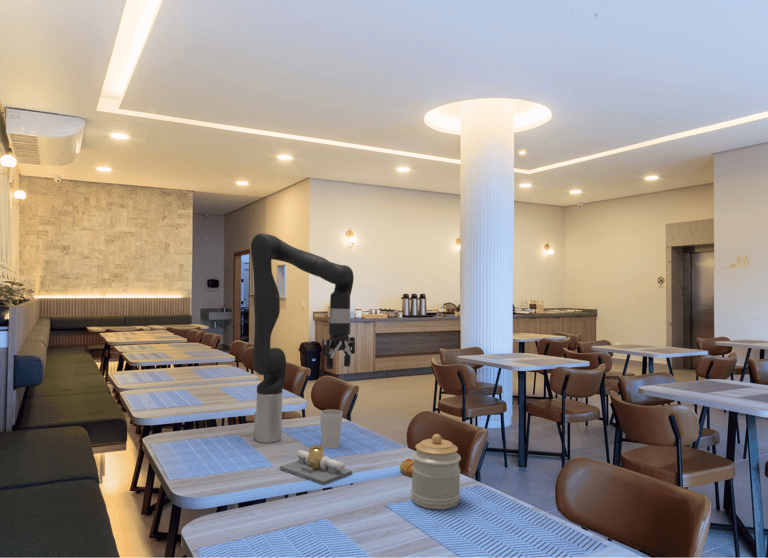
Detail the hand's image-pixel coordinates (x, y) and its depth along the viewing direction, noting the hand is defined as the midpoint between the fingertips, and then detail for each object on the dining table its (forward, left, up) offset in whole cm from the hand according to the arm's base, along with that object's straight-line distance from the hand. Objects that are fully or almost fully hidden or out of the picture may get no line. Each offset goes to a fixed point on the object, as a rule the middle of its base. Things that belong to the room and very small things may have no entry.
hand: (338, 367), depth 189 cm
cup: (-3, 0, -28) cm, 28 cm away
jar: (+52, -16, -28) cm, 61 cm away
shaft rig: (+13, -22, -28) cm, 38 cm away
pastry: (+35, -2, -28) cm, 45 cm away
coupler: (+12, -22, -27) cm, 37 cm away
